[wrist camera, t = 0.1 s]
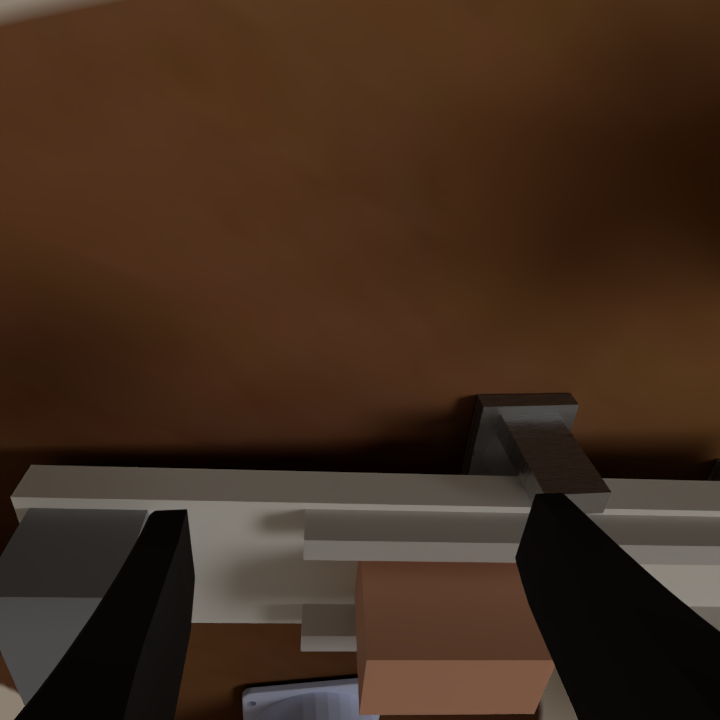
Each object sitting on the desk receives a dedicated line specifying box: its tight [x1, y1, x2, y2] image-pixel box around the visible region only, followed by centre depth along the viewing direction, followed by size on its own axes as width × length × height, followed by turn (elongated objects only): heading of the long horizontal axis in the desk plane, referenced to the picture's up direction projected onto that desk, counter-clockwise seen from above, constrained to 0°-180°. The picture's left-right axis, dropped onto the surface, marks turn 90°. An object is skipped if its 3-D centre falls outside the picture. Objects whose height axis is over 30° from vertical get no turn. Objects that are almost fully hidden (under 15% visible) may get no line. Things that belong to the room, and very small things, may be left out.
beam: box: [0, 465, 720, 705], centre depth 22 cm, size 33×8×5 cm, turn 86°
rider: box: [355, 561, 555, 715], centre depth 21 cm, size 6×3×5 cm, turn 86°
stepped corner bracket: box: [59, 393, 720, 514], centre depth 24 cm, size 31×11×5 cm, turn 86°
